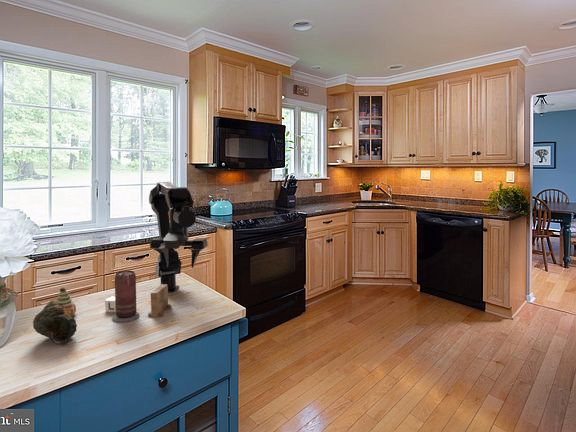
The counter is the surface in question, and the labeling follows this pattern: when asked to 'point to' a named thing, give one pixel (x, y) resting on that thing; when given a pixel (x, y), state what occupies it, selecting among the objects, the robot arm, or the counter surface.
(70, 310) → the ornament
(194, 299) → the counter surface
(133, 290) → the can
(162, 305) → the screen
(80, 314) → the counter surface
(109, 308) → the letter block
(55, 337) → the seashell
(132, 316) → the coaster
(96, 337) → the counter surface
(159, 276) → the robot arm
